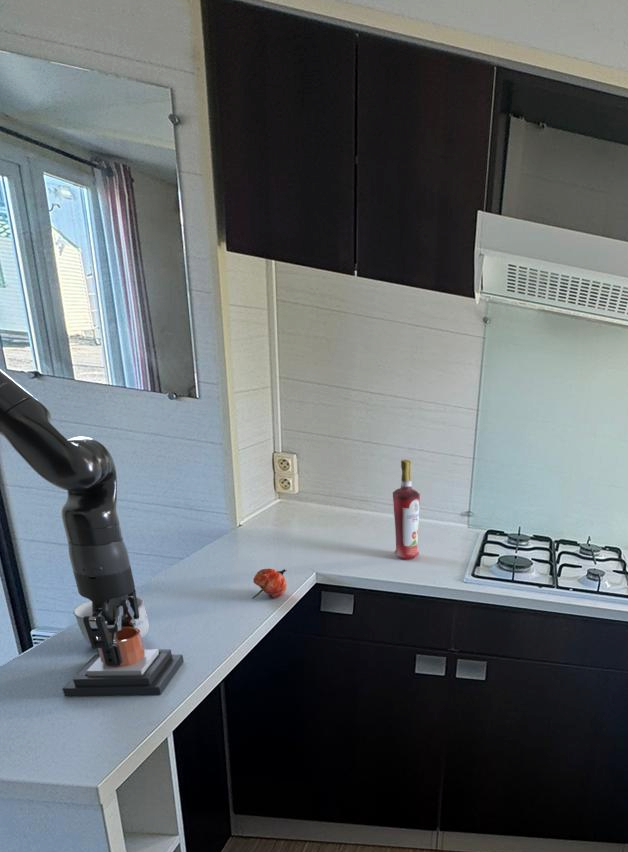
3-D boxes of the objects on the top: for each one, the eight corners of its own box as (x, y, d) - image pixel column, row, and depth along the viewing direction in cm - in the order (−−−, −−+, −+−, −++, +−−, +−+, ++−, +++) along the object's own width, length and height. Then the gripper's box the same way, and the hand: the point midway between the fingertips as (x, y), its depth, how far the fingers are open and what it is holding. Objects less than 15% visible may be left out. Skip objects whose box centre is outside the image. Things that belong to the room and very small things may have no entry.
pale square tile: (88, 678, 106) (86, 671, 105) (108, 656, 113) (106, 649, 112) (142, 678, 108) (141, 670, 107) (159, 656, 115) (158, 649, 114)
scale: (64, 696, 104) (60, 681, 103) (96, 662, 115) (93, 647, 113) (160, 695, 108) (157, 680, 107) (183, 661, 118) (181, 647, 117)
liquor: (407, 551, 189) (406, 457, 176) (424, 557, 186) (425, 462, 174) (388, 556, 183) (386, 459, 171) (406, 563, 180) (405, 464, 168)
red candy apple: (264, 613, 145) (299, 586, 147) (239, 590, 141) (275, 562, 143) (263, 604, 151) (296, 577, 153) (238, 582, 147) (273, 555, 149)
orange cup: (95, 668, 106) (88, 642, 104) (110, 651, 112) (104, 626, 109) (137, 668, 108) (131, 642, 106) (150, 651, 113) (145, 626, 111)
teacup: (126, 658, 117) (117, 619, 114) (67, 651, 117) (57, 612, 113) (174, 627, 130) (167, 592, 126) (121, 621, 129) (112, 585, 126)
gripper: (94, 550, 107) (115, 637, 115) (51, 581, 95) (77, 676, 102) (145, 552, 109) (162, 637, 117) (109, 582, 97) (131, 675, 104)
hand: (122, 655), depth 109 cm, fingers closed on orange cup, 6 cm apart
